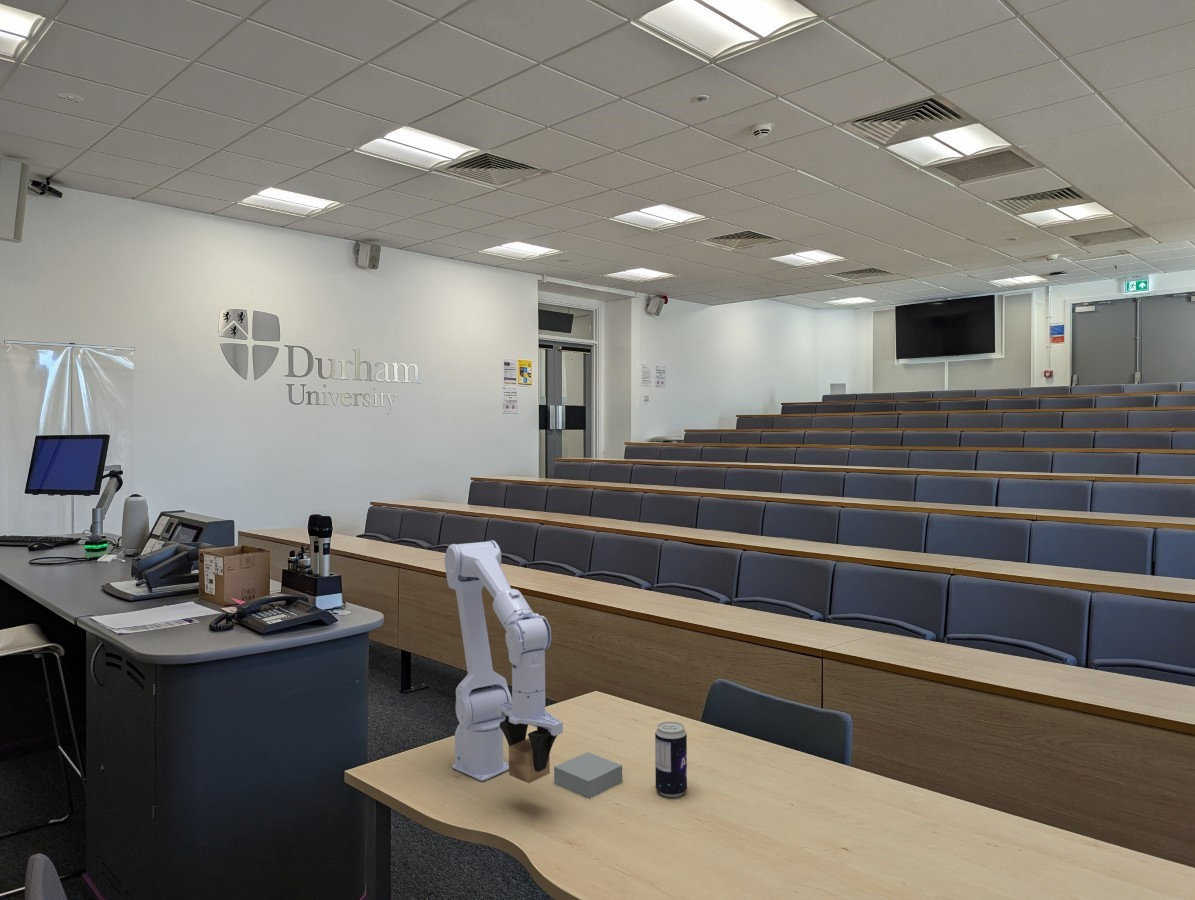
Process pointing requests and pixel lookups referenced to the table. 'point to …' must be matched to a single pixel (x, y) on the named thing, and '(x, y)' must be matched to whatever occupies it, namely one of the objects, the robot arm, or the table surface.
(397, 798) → the table surface
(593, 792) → the grey block
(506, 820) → the table surface
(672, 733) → the beverage can
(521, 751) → the walnut cube
